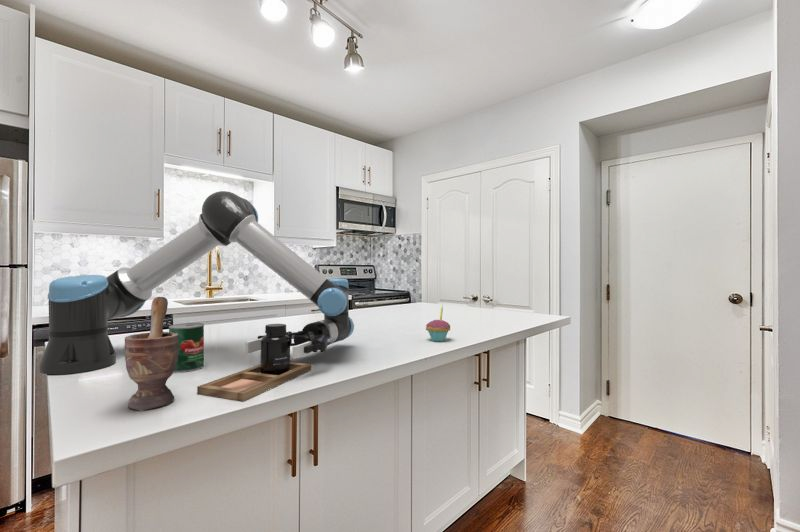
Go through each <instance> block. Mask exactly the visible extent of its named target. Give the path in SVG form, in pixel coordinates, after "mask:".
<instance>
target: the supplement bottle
mask: <svg viewBox="0 0 800 532" xmlns="http://www.w3.org/2000/svg"><path fill="white" fill-rule="evenodd" d="M264 328H265V329H264V330H265V331H264V334H265V335H266V336H264V337H263V338H262V339H261V350H260V356H259V357H260V362H259V363H260V373H262V374H270V375H281V374H283V373H285V372H288V371H290V362H291V346H290V338H289V337H288V336H287V335H285V333H286V332H287V324H286V323H270V324H266V325H265V327H264Z"/></svg>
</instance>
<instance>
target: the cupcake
mask: <svg viewBox="0 0 800 532" xmlns="http://www.w3.org/2000/svg"><path fill="white" fill-rule="evenodd" d="M443 309H444V306H443V305H441V308H440V313H439V314H440V315H439V319H434V320H431V321H429V322H428V323H427V324H426V325H425V330H426V331H427V332H428V334H429V337H430V340H431V341H432V342H437V341H440V342H445V341H446V338H447V335H448V333H449V331H451V324H449V322H447V321H445V320H443Z"/></svg>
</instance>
